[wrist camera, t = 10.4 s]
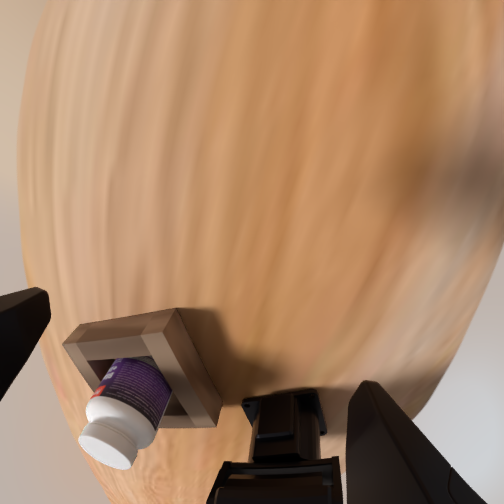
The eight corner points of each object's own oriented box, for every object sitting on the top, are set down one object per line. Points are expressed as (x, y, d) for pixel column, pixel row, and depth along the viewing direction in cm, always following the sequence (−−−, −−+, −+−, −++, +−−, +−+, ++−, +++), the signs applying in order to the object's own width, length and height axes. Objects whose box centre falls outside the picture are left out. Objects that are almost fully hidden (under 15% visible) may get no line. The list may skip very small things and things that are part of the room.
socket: (222, 401, 26) (216, 427, 23) (131, 404, 28) (120, 426, 25) (175, 307, 22) (162, 332, 19) (79, 324, 24) (61, 344, 21)
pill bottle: (122, 331, 24) (63, 417, 15) (183, 354, 24) (142, 453, 15) (120, 374, 26) (74, 454, 17) (175, 395, 26) (141, 483, 17)
